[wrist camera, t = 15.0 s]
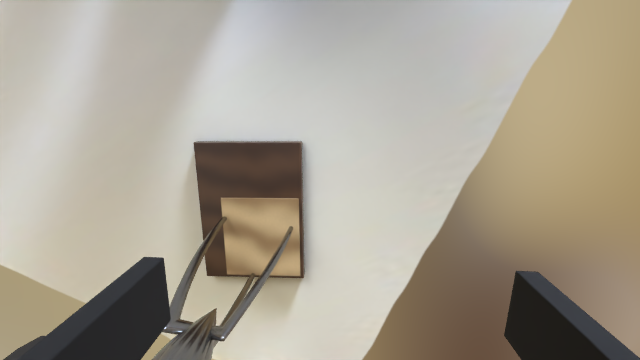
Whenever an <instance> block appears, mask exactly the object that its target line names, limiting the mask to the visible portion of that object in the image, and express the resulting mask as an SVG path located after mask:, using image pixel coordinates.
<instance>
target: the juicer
mask: <svg viewBox="0 0 640 360" xmlns="http://www.w3.org/2000/svg"><path fill="white" fill-rule="evenodd" d="M226 220H227V217H225V216H224V217H222V218H221V220H220V221H219V222H218V223H217V224H216V225H215V226H214V228H213V229H212V230H211V231H210V233H209V234H208V235H207V237H206V238H205V240H204V241H203V243H202V244H201V246H200V247H199V249H198V250H197V252H196V254H195V255H194V257H193V259H192V260H191V262H190V264H189V266H188V268H187V270H186V272H185V274H184V276H183V278H182V280H181V282H180V284H179V286H178V288H177V290H176V293H175V295H174V297H173V300H172V302H171V305H170V307H169V308H170V316H171V320H170V322H169V323H168V324H167V326H166V327H165V328H164V330H163V331H162V332H165V333H171V334H178V335H177V336H176V337H174V338H173V339H172V340H171V341H170V342H169V343H167V344H166V345H165V346H164V347H163V348H162V349H161V350H160V351H159V352H158V353H157V354H156V356H154V358H153V359H152V360H211V359H212V353H213V349H214V347H215V346H216V344H217V343H218V341H224V340H225V339H226V338H227V336H228V335H229V334H230V332H231V331H232V330H233V328H234V327H235V325H236V324H237V323H238V321H239V320H240V318H241V317H242V316H243V314H244V313H245V311H246V310H247V309H248V307H249V306H250V304H251V303H252V301H253V300H254V298H255V297H256V296H257V294H258V293H259V291H260V290H261V288H262V287H263V285H264V283H265V282H266V280H267V279H268V277H269V276H270V274H271V272H272V271H273V269H274V267H275V266H276V264H277V262H278V260H279V258H280V257H281V255H282V253H283V251H284V249H285V247H286V245H287V243H288V240H289V238H290V236H291V233H292V231H293V227H292V226H290V227H289V228H288V230H287V232H286V234H285V236H284V237H283V239H282V241H281V243H280V244H279V246H278V248H277V250H276V251H275V253H274V254H273V256H272V258H271V259H270V261H269V263H268V264H267V266H266V267H265V269H264V270H263V272H262V273H261V275H260V276H259V278H258V279H257V281H256V282H255V284H254V285H253V287H252V288H251V290H250V291H249V292H248V290H249V288H250V285H251V283H252V281H253V279H254V277H255V274H254V273H252V274H251V275H250V277H249V279H248V280H247V282H246V284H245V286H244V287H243V289H242V291H241V292H240V294H239V296H238V297H237V299H236V300H235V302H234V304H233V305H232V307H231V309H230V310H229V312H228V314H227V315H226V317H225V318H224V320H223V322H222V323H221V325H220V326H216V309H214V310H213V311H211V312H209V313H208V314H206V315H204V316H203V317H201V318H200V319H198V320H197V321H195V322H194V323H193V322H189V321H185V320H181V319H180V316H181V313H182V309H183V306H184V303H185V300H186V297H187V294H188V291H189V289H190V286H191V283H192V281H193V279H194V276H195V274H196V272H197V269H198V267H199V265H200V263H201V261H202V259H203V257H204V255H205V253H206V251H207V249H208V248H209V246H210V244H211V242H212V241H213V239H214V238H215V236H216V234H217V233H218V231H219V230H220V228H221V227H222V226H223V224H224V223H225V221H226ZM247 292H248V294H247ZM246 294H247V295H246ZM245 295H246V297H245ZM244 297H245V298H244Z"/></svg>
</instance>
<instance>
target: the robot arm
mask: <svg viewBox="0 0 640 360" xmlns="http://www.w3.org/2000/svg"><path fill="white" fill-rule="evenodd" d="M170 320H171V316H170V308H169V300H168V291H167V283H166V275H165V266H164V258H156V257H143V258H142V259H141V260H140V261H139V262H137V263H136V264H135V265H134V266H132V267H131V268H130V269H129V270H127V271H126V272H125V273H124V274H122V275H121V276H120V277H119V278H117V279H116V280H115V281H114V282H112V283H111V284H110V285H109V286H107V287H106V288H105V289H104V290H103V291H101V292H100V293H99V294H98V295H96V296H95V297H94V298H93V299H91V300H90V301H89V302H88V303H86V304H85V305H84V306H83V307H81V308H80V309H79V310H78V311H76V312H75V313H74V314H73V315H72V316H70V317H69V318H68V319H67V320H65V321H64V322H63V323H62V324H60V325H59V326H58V327H57V328H55V329H54V330H53V331H52V332H50V333H49V334H48V335H47V336H40V337H39V338H37V339H35V340H33V341H31V342H29V343H27V344H26V345H24V346H22V347H20V348H18V349H17V350H15V351H14V352H13V353H11V354H10V355H9V356H8V357H6V358H5V359H4V360H141V358H142V357H143V356H144V354H145V353H146V352H147V350H148V349H149V348H150V347H151V345H152V344H153V343H154V341H155V340H156V339H157V337H158V336H159V335H160V333H161V332H162V331H163V330H164V328H165V327H166V326H167V324H168V323H169V322H170ZM504 336H505V337H506V339H507V340H508V342H509V343H510V344H511V346H512V347H513V349H514V350H515V351H516V353H517V354H518V356H519V357H520V358H521V360H640V358H639V357H638V356H636V355H635V354H634V353H633V352H632V351H630V350H629V349H628V348H627V347H626V346H625V345H623V344H622V343H621V342H620V341H619V340H617V339H616V338H615V337H614V336H613V335H611V333H609V332H608V331H607V330H606V329H605V328H603V327H602V326H601V325H600V324H599V323H598V322H596V321H595V320H594V319H593V318H592V317H590V316H589V315H588V314H587V313H586V312H585V311H583V310H582V309H581V308H580V307H579V306H577V305H576V304H575V303H574V302H573V301H571V300H570V299H569V298H568V297H567V296H566V295H564V294H563V293H562V292H561V291H560V290H559V289H557V288H556V287H555V286H554V285H553V284H552V283H550V282H549V281H548V280H547V279H546V278H544V277H543V276H542V275H541V274H540V273H538V272H528V271H516V273H515V279H514V285H513V290H512V296H511V301H510V306H509V312H508V317H507V323H506V328H505V334H504Z"/></svg>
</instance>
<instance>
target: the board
mask: <svg viewBox="0 0 640 360" xmlns="http://www.w3.org/2000/svg"><path fill="white" fill-rule="evenodd" d="M194 150H195V160H196V170H197V180H198V190H199V200H200V210H201V220H202V230H203V240H205V238H206V237H207V235H208V234H209V233H210V231H211V230H212V229H213V228H214V226H215V225H216V224H217V223H218V222H219V221H220V220H221V218H222V217H224V216H225V217H227V220H226V221H225V223H224V224H223V226H222V227H221V228H220V230H219V231H218V233H217V234H216V236H215V238H214V239H213V241H212V242H211V244H210V246H209V248H208V249H207V251H206V253H205V260H206V270H207V276H236V277H250V275H251V274H252V273H254V274H255V277H259V276H260V275H261V273H262V272H263V270H264V269H265V267H266V266H267V264H268V263H269V261H270V259H271V258H272V256H273V254H274V253H275V251H276V250H277V248H278V246H279V244H280V243H281V241H282V239H283V237H284V236H285V234H286V232H287V230H288V228H289V227H290V226H292V227H293V231H292V233H291V236H290V238H289V240H288V243H287V245H286V247H285V249H284V251H283V253H282V255H281V257H280V258H279V260H278V262H277V264H276V266H275V267H274V269H273V271H272V272H271V274H270V276H269V277H279V278H304V224H303V172H302V142H301V141H198V142H194Z"/></svg>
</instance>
